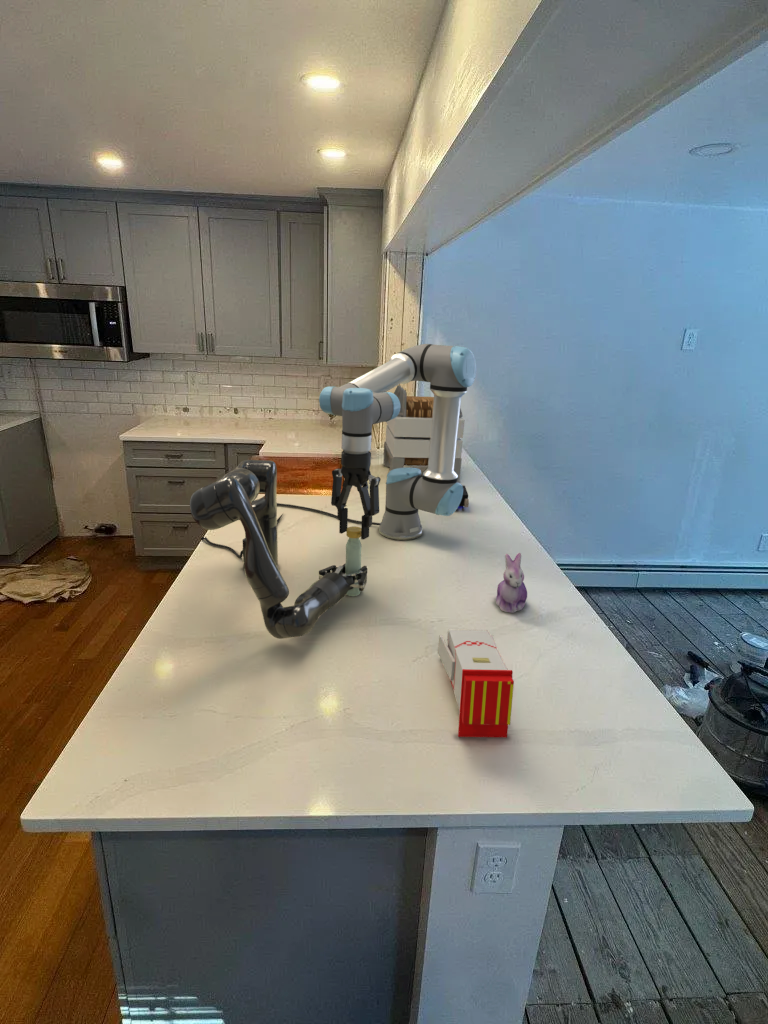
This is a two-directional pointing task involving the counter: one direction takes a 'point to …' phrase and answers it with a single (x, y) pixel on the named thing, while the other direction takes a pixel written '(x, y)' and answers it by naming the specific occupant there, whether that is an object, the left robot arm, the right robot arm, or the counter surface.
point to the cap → (353, 532)
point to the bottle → (353, 560)
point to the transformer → (414, 434)
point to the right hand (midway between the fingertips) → (354, 534)
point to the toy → (478, 682)
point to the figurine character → (464, 499)
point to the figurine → (512, 586)
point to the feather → (279, 518)
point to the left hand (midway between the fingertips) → (357, 567)
